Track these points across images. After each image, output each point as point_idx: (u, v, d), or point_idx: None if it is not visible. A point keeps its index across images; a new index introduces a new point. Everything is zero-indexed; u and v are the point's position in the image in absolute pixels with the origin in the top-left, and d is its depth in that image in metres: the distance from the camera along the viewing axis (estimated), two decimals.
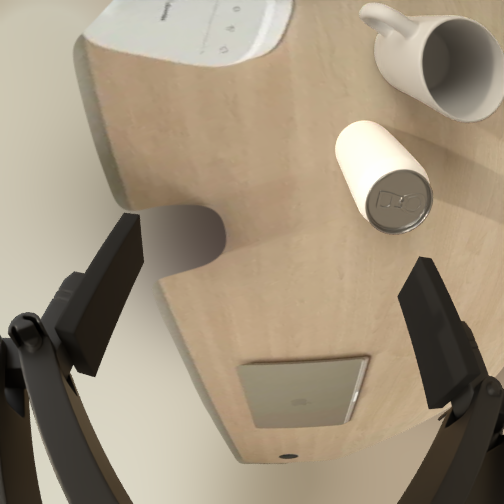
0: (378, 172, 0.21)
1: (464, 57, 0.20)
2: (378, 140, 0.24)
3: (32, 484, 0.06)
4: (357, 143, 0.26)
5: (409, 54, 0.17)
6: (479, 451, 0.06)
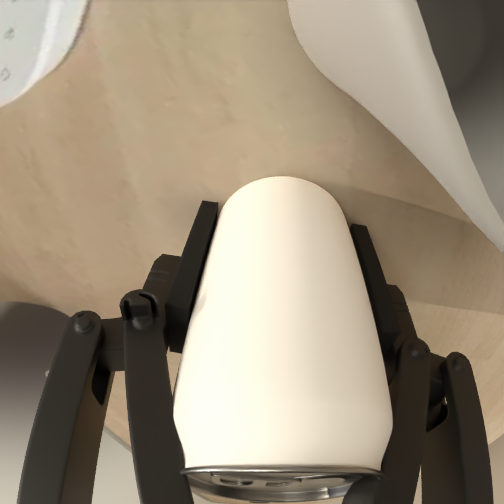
0: (196, 440, 0.06)
1: None
2: (258, 277, 0.09)
3: (90, 472, 0.07)
4: (214, 269, 0.10)
5: None
6: (418, 421, 0.07)
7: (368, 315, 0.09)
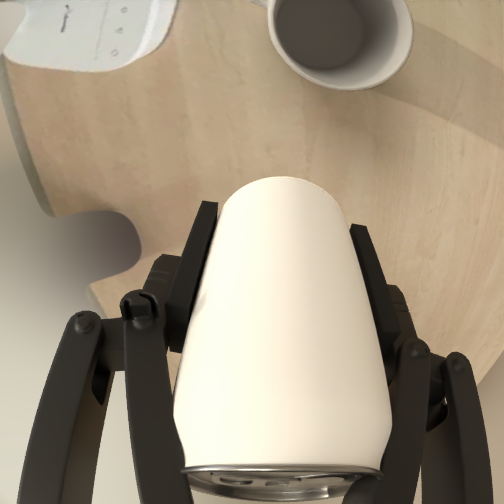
0: (195, 439, 0.06)
1: (373, 19, 0.18)
2: (257, 277, 0.09)
3: (90, 472, 0.07)
4: (214, 269, 0.11)
5: None
6: (418, 421, 0.07)
7: (367, 315, 0.09)
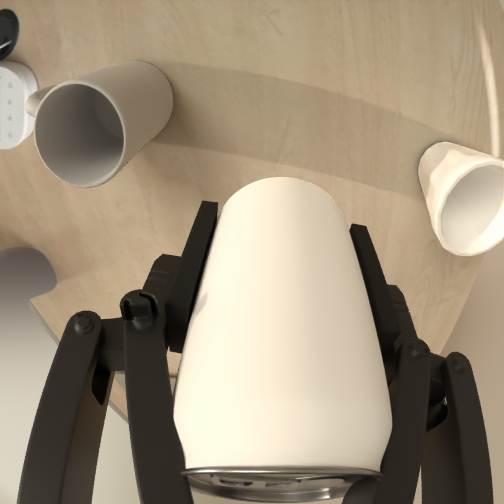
0: (196, 441, 0.06)
1: None
2: (257, 278, 0.09)
3: (90, 472, 0.07)
4: (214, 270, 0.10)
5: None
6: (417, 421, 0.07)
7: (368, 316, 0.09)
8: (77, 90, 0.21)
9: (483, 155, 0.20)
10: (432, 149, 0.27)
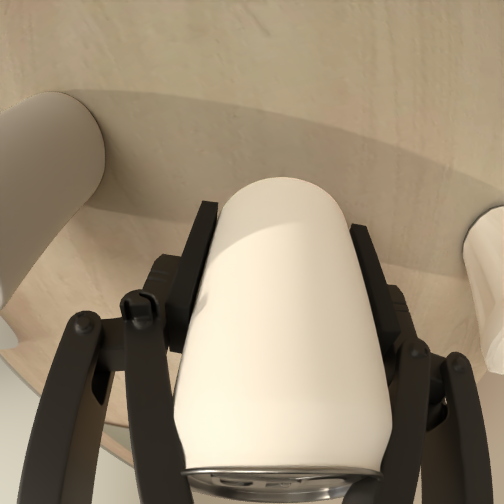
0: (196, 440, 0.06)
1: None
2: (257, 278, 0.09)
3: (90, 472, 0.07)
4: (214, 270, 0.11)
5: None
6: (417, 421, 0.07)
7: (368, 316, 0.09)
8: None
9: None
10: (488, 219, 0.18)
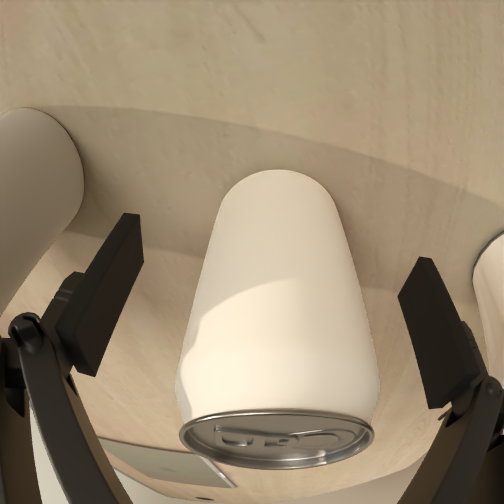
0: (201, 392, 0.07)
1: None
2: (256, 252, 0.10)
3: (32, 484, 0.06)
4: (217, 249, 0.12)
5: None
6: (479, 451, 0.06)
7: (355, 287, 0.10)
8: None
9: None
10: (501, 244, 0.16)
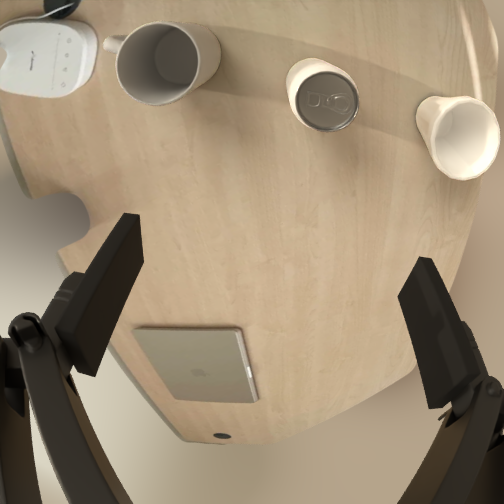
0: (304, 76, 0.24)
1: None
2: (312, 62, 0.27)
3: (32, 484, 0.06)
4: (296, 68, 0.28)
5: None
6: (479, 451, 0.06)
7: None
8: (148, 37, 0.26)
9: (464, 96, 0.25)
10: (426, 100, 0.33)
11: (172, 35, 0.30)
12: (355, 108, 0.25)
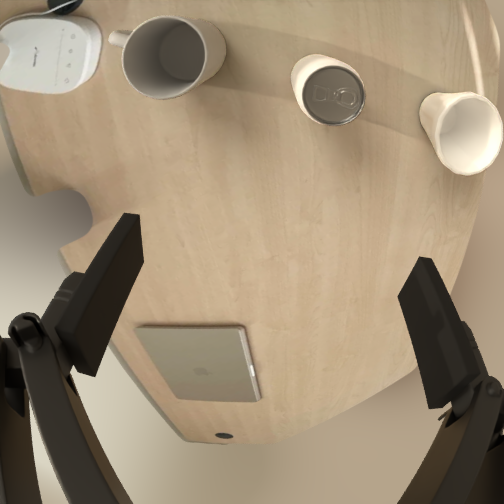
0: (311, 70, 0.24)
1: None
2: (318, 57, 0.27)
3: (32, 484, 0.06)
4: (302, 63, 0.28)
5: None
6: (479, 451, 0.06)
7: None
8: (154, 32, 0.26)
9: (467, 92, 0.25)
10: (429, 97, 0.32)
11: (177, 31, 0.30)
12: (361, 102, 0.25)
